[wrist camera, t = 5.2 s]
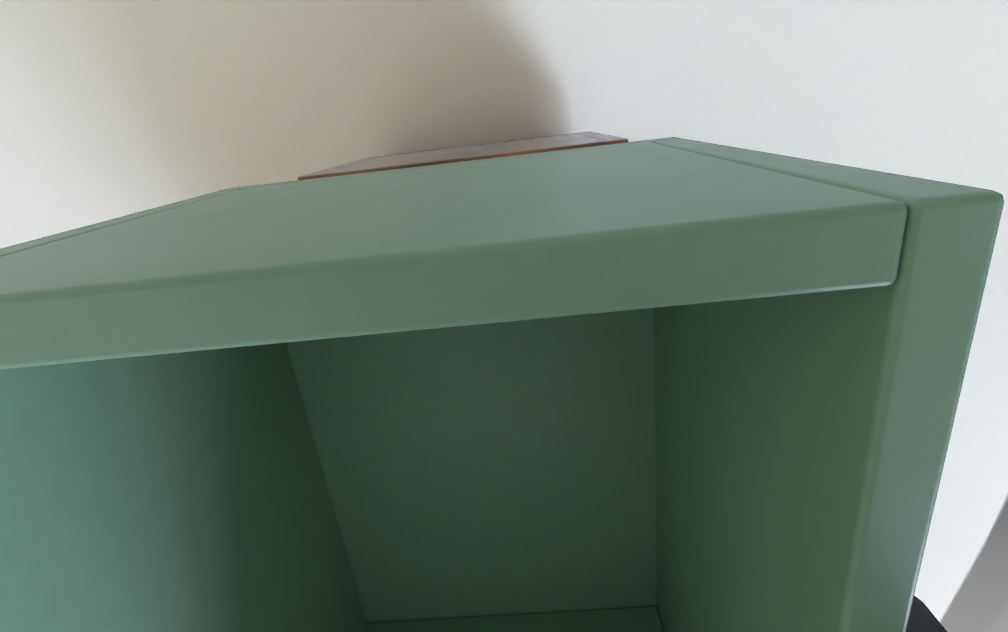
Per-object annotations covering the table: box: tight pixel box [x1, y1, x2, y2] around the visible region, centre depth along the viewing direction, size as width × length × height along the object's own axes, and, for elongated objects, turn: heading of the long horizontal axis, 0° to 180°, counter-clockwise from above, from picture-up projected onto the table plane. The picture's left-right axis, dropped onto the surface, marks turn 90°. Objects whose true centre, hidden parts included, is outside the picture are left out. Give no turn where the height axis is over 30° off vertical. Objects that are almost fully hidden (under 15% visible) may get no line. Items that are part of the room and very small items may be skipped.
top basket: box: [0, 137, 1004, 632], centre depth 12 cm, size 11×15×10 cm
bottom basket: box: [298, 131, 628, 180], centre depth 24 cm, size 11×15×10 cm
